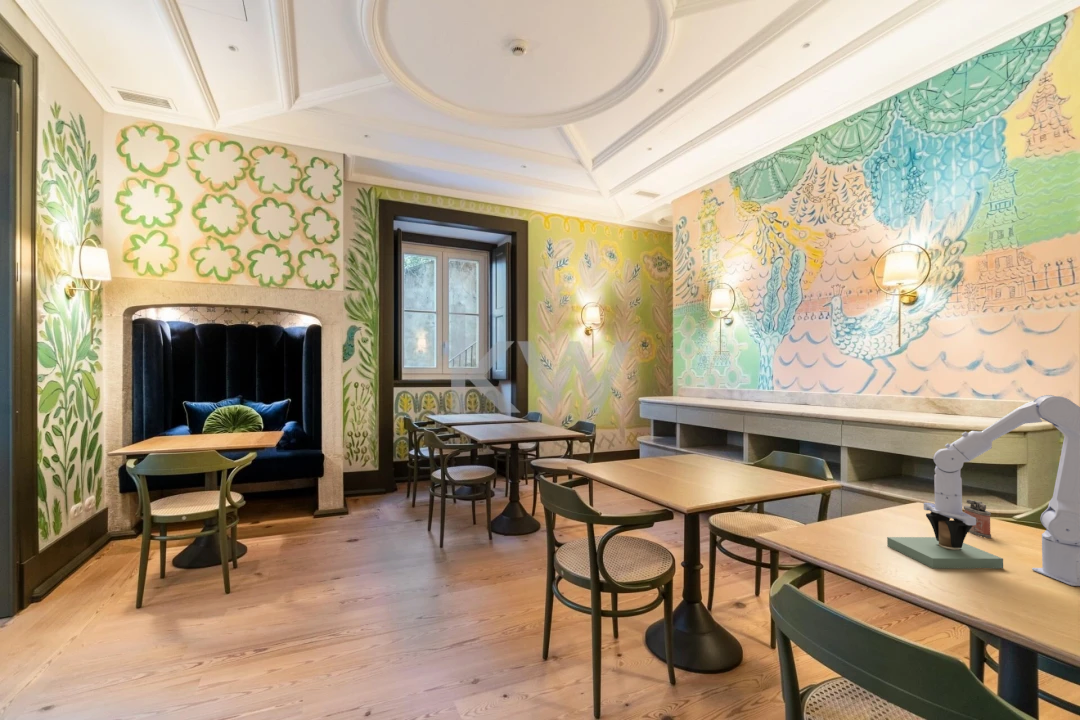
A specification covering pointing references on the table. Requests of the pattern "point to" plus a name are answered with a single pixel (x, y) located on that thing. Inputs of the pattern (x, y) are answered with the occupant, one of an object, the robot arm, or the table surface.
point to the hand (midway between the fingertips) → (948, 544)
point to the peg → (945, 536)
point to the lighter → (979, 518)
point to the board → (944, 553)
